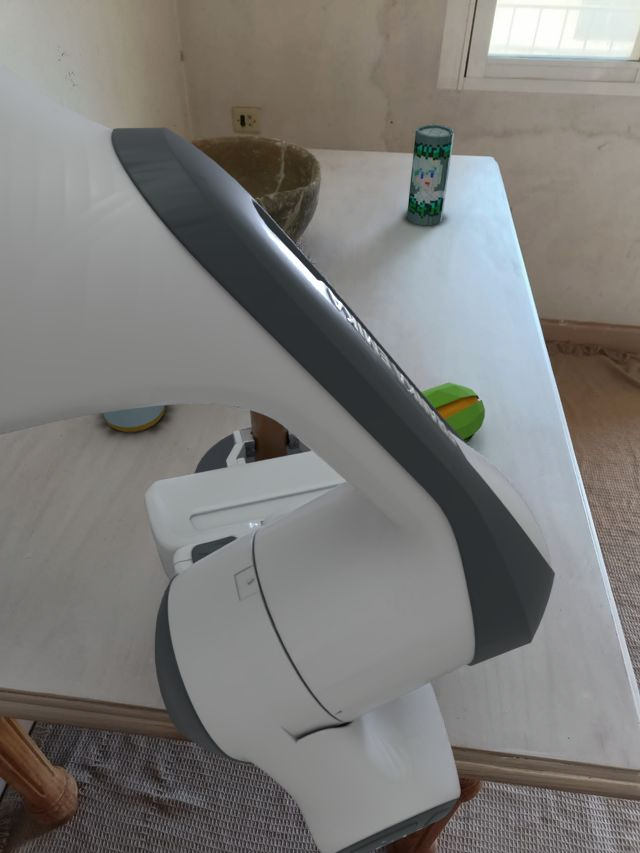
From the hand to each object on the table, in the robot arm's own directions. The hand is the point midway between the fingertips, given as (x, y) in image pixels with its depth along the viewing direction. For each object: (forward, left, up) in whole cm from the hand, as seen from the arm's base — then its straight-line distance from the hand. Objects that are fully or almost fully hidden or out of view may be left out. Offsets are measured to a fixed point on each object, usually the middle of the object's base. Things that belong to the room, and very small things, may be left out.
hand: (267, 430), depth 51 cm
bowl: (+36, +45, -15) cm, 59 cm away
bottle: (+2, +25, -15) cm, 29 cm away
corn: (+18, -3, -15) cm, 23 cm away
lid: (0, -1, -5) cm, 5 cm away
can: (+69, +31, -15) cm, 77 cm away
